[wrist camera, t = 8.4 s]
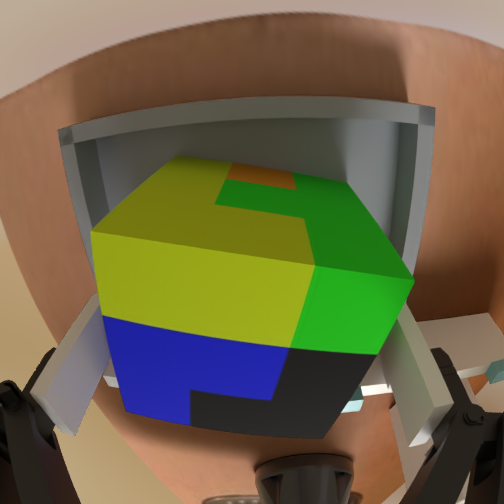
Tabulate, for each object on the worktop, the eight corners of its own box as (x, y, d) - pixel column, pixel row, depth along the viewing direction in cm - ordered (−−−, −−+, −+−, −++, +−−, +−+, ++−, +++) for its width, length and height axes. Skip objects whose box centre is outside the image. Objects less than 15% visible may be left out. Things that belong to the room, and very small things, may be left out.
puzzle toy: (170, 295, 22) (125, 411, 13) (175, 155, 17) (90, 231, 9) (308, 315, 23) (322, 438, 14) (347, 182, 18) (415, 280, 9)
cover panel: (483, 322, 24) (515, 376, 18) (306, 341, 25) (313, 414, 19) (488, 311, 23) (522, 364, 17) (307, 329, 24) (315, 404, 18)
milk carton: (388, 410, 31) (416, 558, 14) (423, 371, 27) (472, 537, 11) (430, 410, 31) (464, 539, 15) (465, 374, 28) (516, 514, 11)
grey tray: (380, 319, 24) (404, 386, 18) (137, 322, 25) (108, 386, 19) (408, 102, 16) (472, 116, 10) (87, 120, 17) (18, 143, 11)
